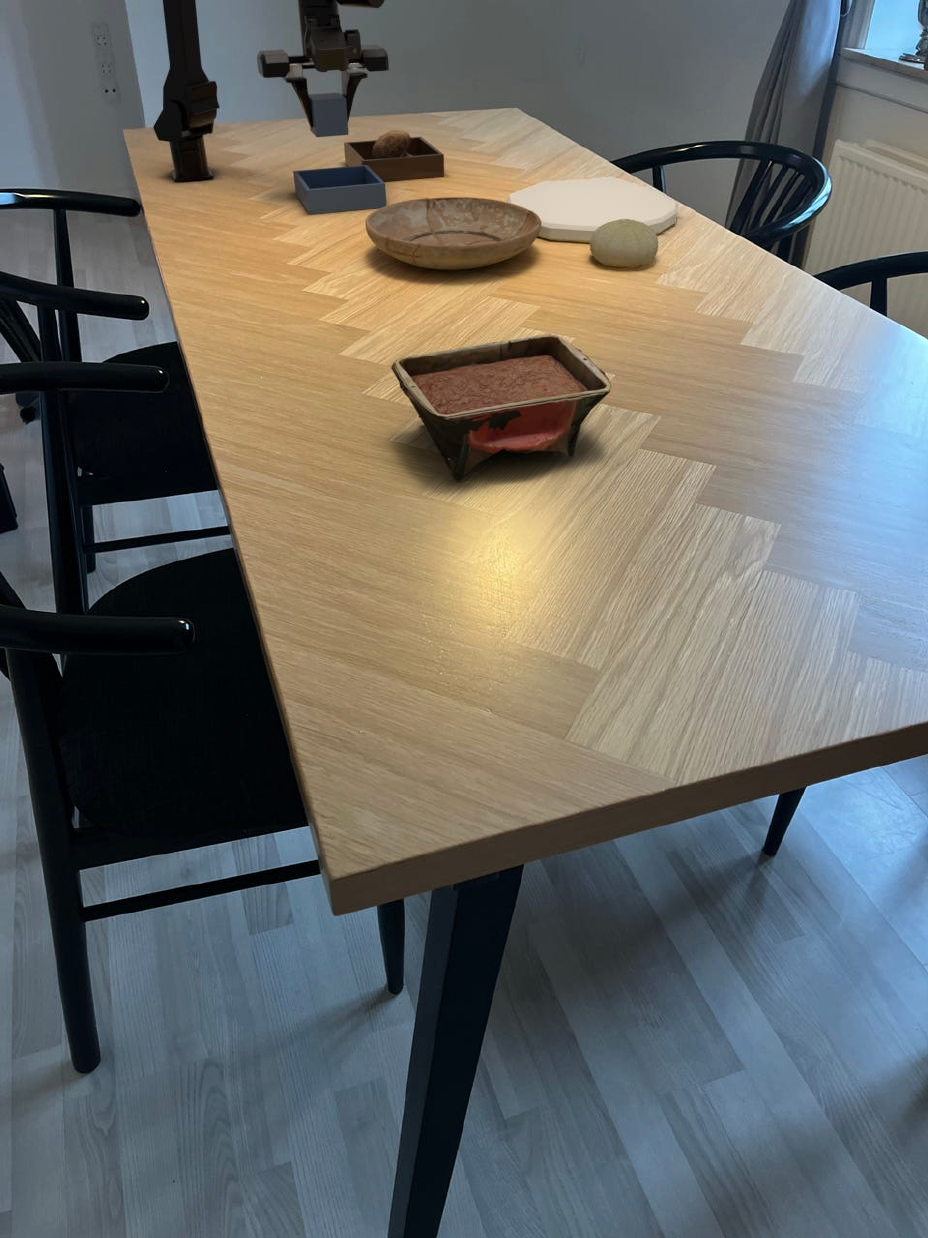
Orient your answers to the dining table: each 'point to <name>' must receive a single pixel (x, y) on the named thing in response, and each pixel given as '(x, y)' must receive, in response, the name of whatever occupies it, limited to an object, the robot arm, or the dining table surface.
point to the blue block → (329, 114)
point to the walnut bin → (398, 160)
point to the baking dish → (502, 397)
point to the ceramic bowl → (452, 231)
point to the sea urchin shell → (624, 243)
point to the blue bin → (339, 189)
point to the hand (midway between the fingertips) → (328, 125)
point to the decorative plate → (593, 206)
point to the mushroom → (391, 145)
